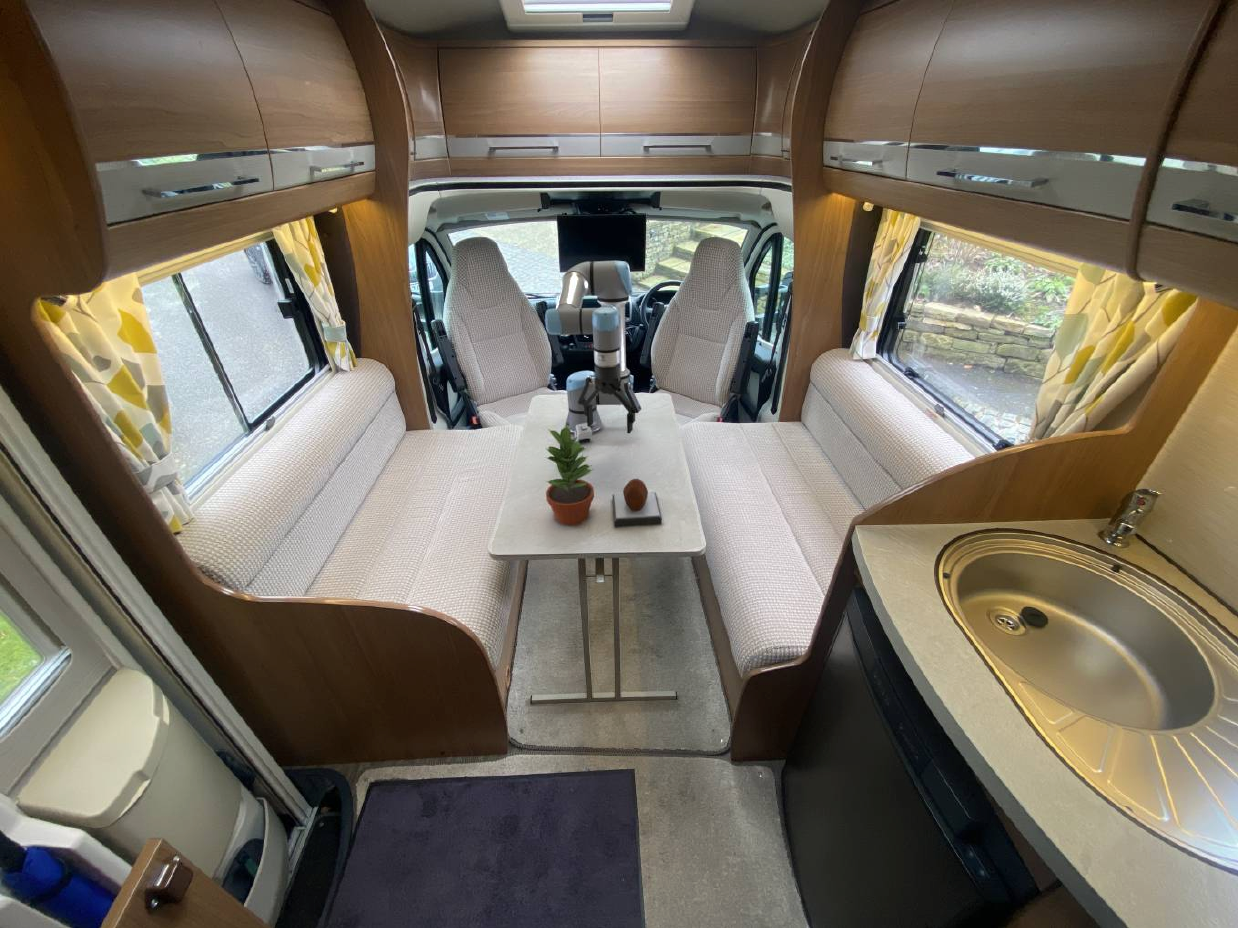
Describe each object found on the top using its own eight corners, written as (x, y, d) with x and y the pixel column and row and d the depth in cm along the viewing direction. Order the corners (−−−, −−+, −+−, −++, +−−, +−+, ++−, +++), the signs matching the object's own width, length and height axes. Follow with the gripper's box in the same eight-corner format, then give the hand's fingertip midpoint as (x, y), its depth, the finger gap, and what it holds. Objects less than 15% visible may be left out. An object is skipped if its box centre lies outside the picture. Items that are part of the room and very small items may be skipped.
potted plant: (602, 523, 150) (598, 435, 135) (553, 533, 147) (542, 443, 132) (591, 497, 163) (585, 413, 148) (545, 506, 159) (534, 421, 144)
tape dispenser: (576, 446, 198) (579, 436, 188) (572, 431, 200) (575, 421, 190) (590, 444, 199) (594, 434, 190) (586, 429, 201) (589, 418, 192)
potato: (622, 514, 149) (622, 492, 145) (623, 493, 159) (623, 472, 155) (648, 514, 149) (648, 492, 145) (647, 493, 159) (647, 472, 155)
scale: (612, 500, 161) (612, 492, 160) (655, 498, 162) (655, 490, 160) (614, 526, 149) (614, 518, 147) (661, 524, 150) (661, 516, 148)
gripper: (563, 362, 147) (569, 427, 158) (642, 373, 138) (642, 440, 149) (575, 354, 153) (579, 417, 164) (652, 364, 144) (651, 429, 155)
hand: (609, 428), depth 156 cm, fingers open, 13 cm apart
